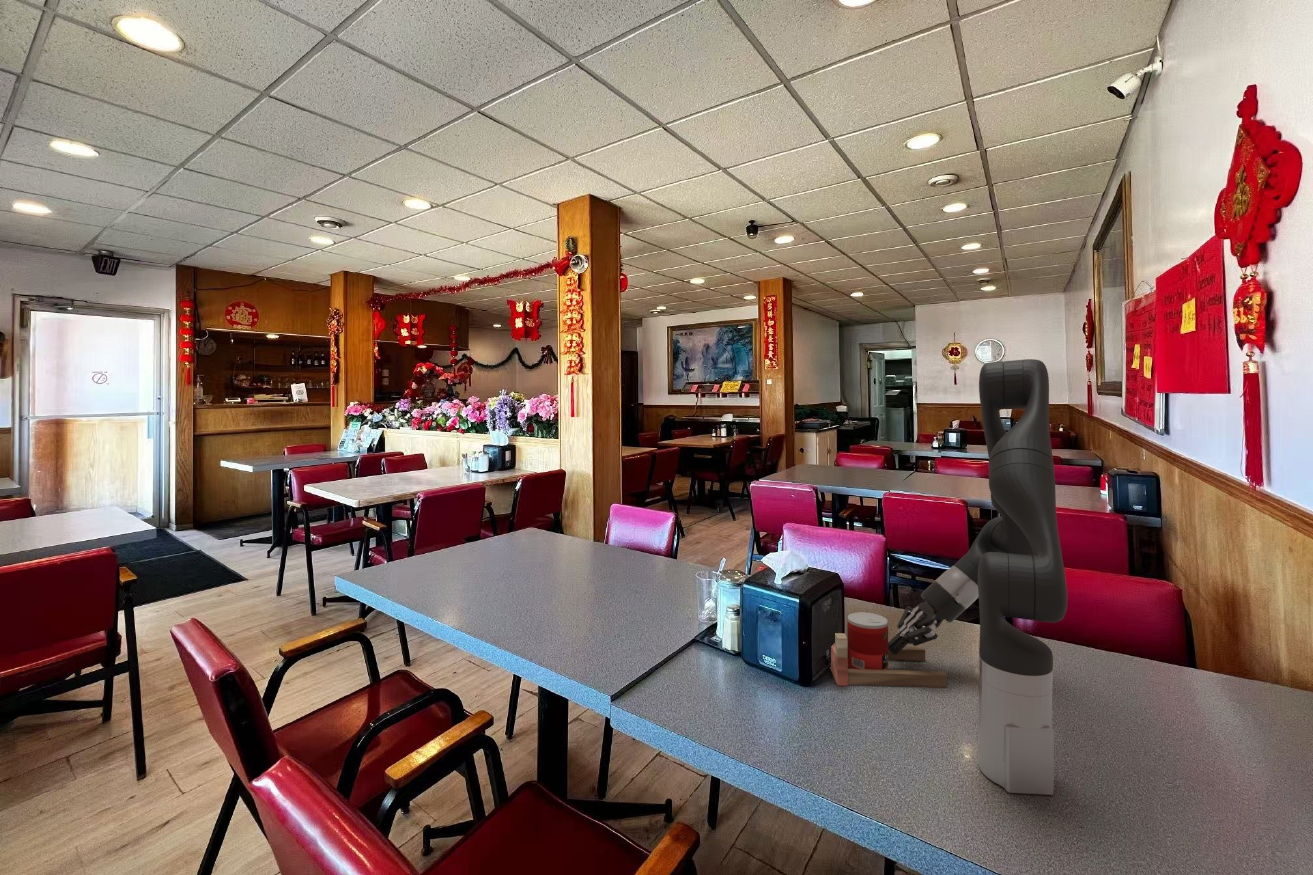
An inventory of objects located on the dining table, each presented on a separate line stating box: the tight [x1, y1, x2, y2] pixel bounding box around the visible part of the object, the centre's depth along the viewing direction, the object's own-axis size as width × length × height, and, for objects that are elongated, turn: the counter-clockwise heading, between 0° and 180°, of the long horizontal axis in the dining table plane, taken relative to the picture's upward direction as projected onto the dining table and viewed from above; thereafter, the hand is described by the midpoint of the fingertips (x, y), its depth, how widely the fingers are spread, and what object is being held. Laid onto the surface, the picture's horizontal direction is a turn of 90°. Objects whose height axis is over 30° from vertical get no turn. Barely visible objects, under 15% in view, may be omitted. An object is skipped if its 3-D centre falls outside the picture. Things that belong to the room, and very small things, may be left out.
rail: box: [829, 632, 948, 689], centre depth 117 cm, size 14×21×10 cm, turn 84°
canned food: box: [846, 611, 889, 670], centre depth 117 cm, size 8×8×11 cm
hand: (890, 650), depth 117 cm, fingers closed
